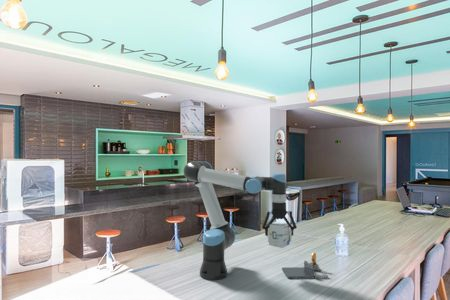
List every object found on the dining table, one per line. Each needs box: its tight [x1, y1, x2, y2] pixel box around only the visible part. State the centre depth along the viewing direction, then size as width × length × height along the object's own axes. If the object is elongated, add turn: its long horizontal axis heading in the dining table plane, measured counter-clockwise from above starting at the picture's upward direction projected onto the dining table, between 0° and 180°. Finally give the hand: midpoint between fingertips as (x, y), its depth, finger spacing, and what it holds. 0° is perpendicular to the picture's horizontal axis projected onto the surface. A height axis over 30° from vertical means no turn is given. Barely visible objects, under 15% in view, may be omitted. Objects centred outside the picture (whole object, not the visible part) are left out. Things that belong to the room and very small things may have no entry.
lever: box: [308, 252, 319, 272], centre depth 178 cm, size 4×4×9 cm
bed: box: [281, 260, 315, 280], centre depth 171 cm, size 14×13×5 cm
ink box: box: [268, 221, 291, 249], centre depth 168 cm, size 9×8×12 cm
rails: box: [314, 266, 329, 280], centre depth 172 cm, size 7×16×2 cm, turn 3°
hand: (279, 241), depth 169 cm, fingers closed on ink box, 11 cm apart
